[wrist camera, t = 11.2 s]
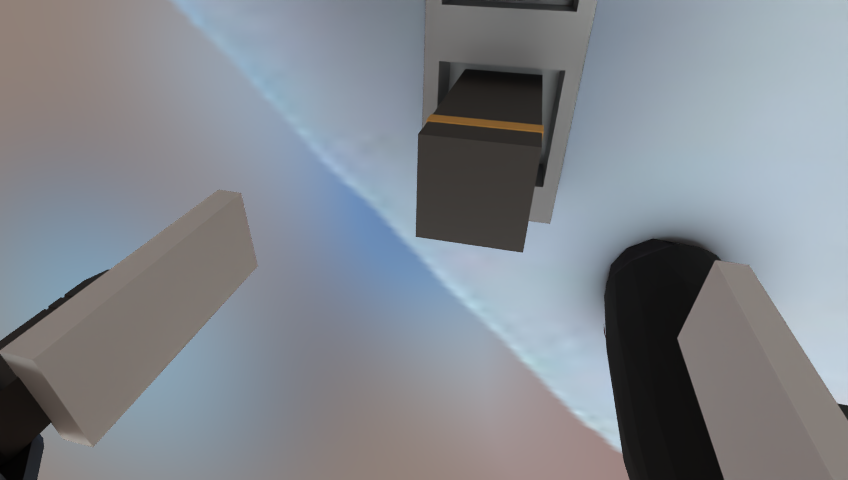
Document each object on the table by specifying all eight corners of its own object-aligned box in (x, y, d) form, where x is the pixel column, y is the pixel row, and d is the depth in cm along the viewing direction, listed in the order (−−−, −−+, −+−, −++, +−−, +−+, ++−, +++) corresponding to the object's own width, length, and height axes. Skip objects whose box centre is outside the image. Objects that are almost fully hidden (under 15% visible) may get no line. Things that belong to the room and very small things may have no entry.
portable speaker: (584, 317, 35) (616, 620, 19) (621, 215, 30) (708, 510, 14) (699, 341, 34) (839, 686, 18) (758, 238, 29) (1031, 593, 13)
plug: (464, 67, 26) (416, 132, 16) (543, 74, 25) (543, 146, 16) (459, 142, 29) (414, 237, 19) (530, 149, 28) (523, 253, 18)
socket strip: (452, -214, 21) (370, -371, 11) (632, -220, 19) (724, -406, 10) (434, 177, 32) (384, 276, 22) (549, 191, 30) (551, 303, 20)
